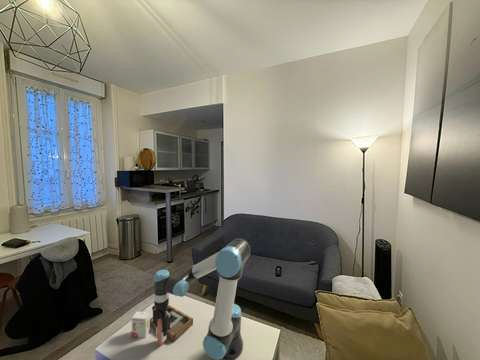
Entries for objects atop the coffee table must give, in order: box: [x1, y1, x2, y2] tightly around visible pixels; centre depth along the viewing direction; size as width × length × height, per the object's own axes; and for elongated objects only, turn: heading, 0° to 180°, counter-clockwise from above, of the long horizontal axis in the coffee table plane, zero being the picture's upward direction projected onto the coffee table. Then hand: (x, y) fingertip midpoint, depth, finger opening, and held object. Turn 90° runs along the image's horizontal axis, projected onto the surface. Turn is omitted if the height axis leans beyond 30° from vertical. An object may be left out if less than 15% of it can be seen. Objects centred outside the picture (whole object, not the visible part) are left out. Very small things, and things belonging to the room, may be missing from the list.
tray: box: [150, 304, 194, 343], centre depth 124 cm, size 22×15×4 cm
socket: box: [169, 311, 183, 331], centre depth 124 cm, size 10×10×3 cm
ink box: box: [131, 311, 151, 338], centre depth 116 cm, size 9×5×12 cm, turn 88°
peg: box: [156, 318, 166, 347], centre depth 111 cm, size 4×4×14 cm
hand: (161, 338), depth 111 cm, fingers closed on peg, 4 cm apart
